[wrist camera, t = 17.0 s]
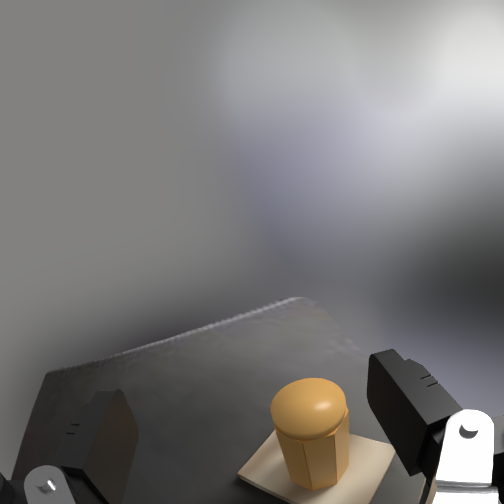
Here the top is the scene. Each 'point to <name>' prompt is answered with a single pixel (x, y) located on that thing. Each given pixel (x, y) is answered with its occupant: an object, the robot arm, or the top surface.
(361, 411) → the top surface
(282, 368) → the top surface
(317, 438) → the octagonal lidded canister
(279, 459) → the post board
